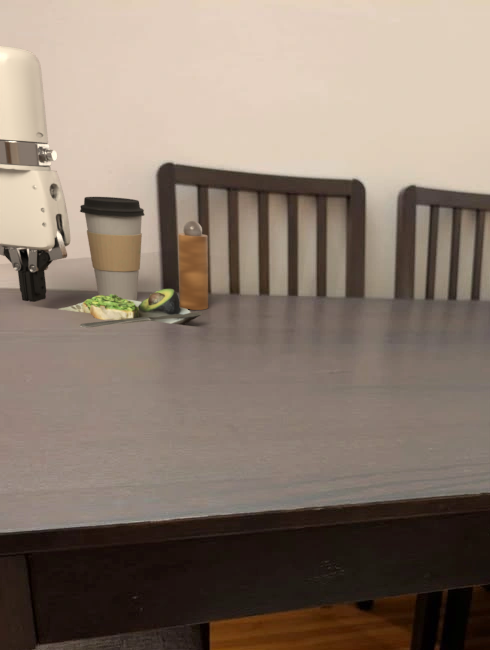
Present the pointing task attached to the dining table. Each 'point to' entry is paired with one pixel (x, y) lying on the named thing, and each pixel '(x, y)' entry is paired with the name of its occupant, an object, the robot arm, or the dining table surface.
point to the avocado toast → (135, 309)
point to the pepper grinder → (193, 267)
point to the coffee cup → (114, 243)
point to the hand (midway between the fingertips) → (34, 299)
